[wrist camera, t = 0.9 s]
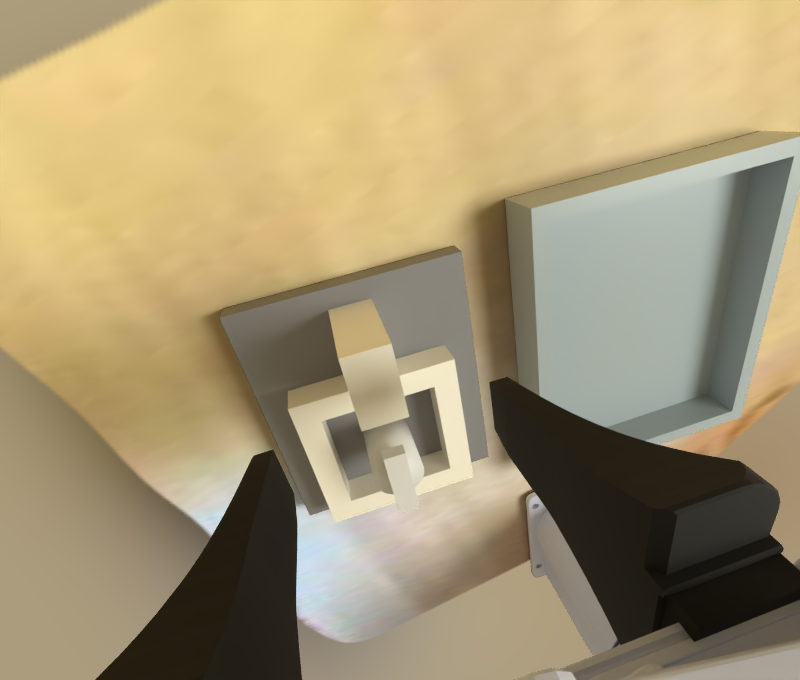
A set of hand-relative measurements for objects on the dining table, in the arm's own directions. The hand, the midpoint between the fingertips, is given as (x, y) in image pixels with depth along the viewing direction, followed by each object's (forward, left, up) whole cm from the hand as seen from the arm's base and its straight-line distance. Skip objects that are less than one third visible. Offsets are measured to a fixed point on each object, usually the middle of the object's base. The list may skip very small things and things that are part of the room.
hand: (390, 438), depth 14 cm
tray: (-4, -15, -8) cm, 18 cm away
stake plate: (-4, 0, -8) cm, 9 cm away
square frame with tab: (-4, 0, -7) cm, 8 cm away
